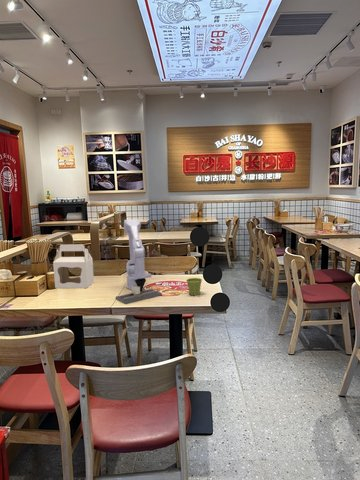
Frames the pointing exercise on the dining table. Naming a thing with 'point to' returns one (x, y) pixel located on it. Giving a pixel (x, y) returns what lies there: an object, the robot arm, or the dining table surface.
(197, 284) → the plant pot
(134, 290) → the fader tab
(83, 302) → the dining table surface
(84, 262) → the gable box
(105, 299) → the dining table surface
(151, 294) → the fader console
